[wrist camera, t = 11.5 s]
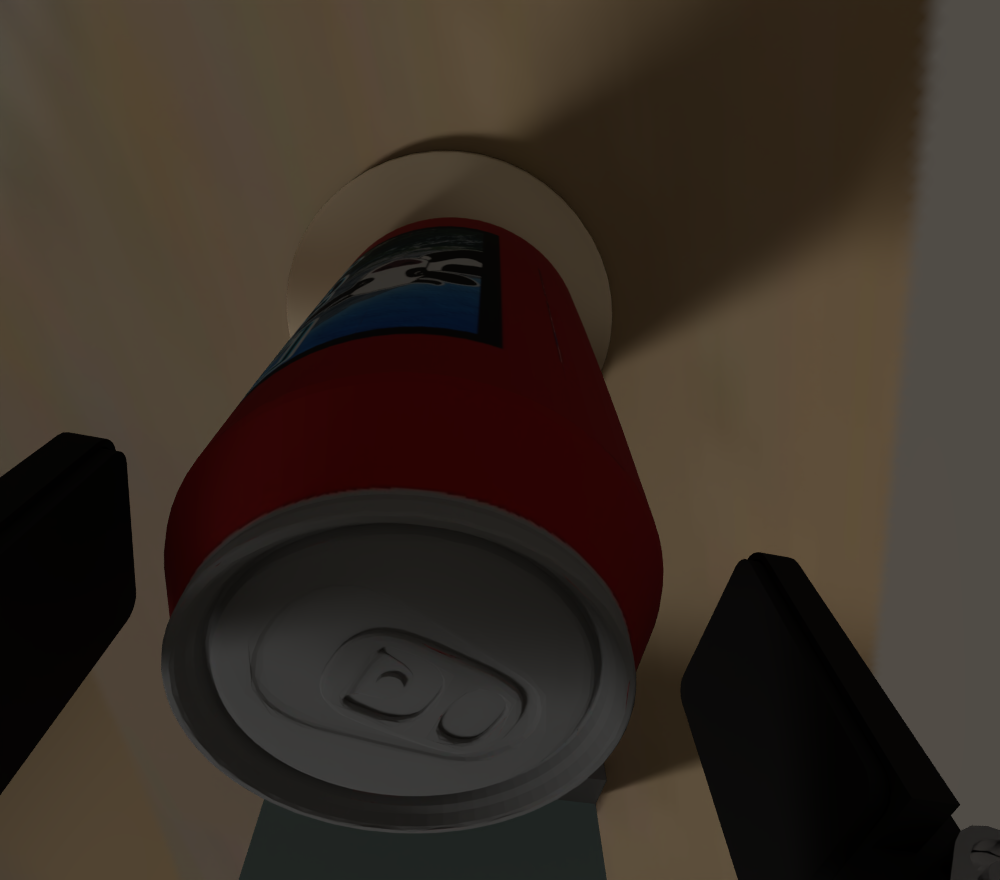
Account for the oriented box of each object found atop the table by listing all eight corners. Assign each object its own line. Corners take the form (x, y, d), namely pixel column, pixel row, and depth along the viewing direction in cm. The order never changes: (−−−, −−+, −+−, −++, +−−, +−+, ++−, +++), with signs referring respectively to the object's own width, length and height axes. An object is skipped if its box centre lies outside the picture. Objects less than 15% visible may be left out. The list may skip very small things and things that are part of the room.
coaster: (563, 477, 21) (565, 487, 20) (285, 430, 20) (279, 439, 19) (651, 192, 16) (656, 196, 16) (301, 112, 15) (295, 113, 15)
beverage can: (405, 154, 15) (215, 305, 5) (626, 297, 17) (834, 631, 7) (296, 372, 18) (27, 765, 8) (496, 476, 20) (498, 909, 9)
